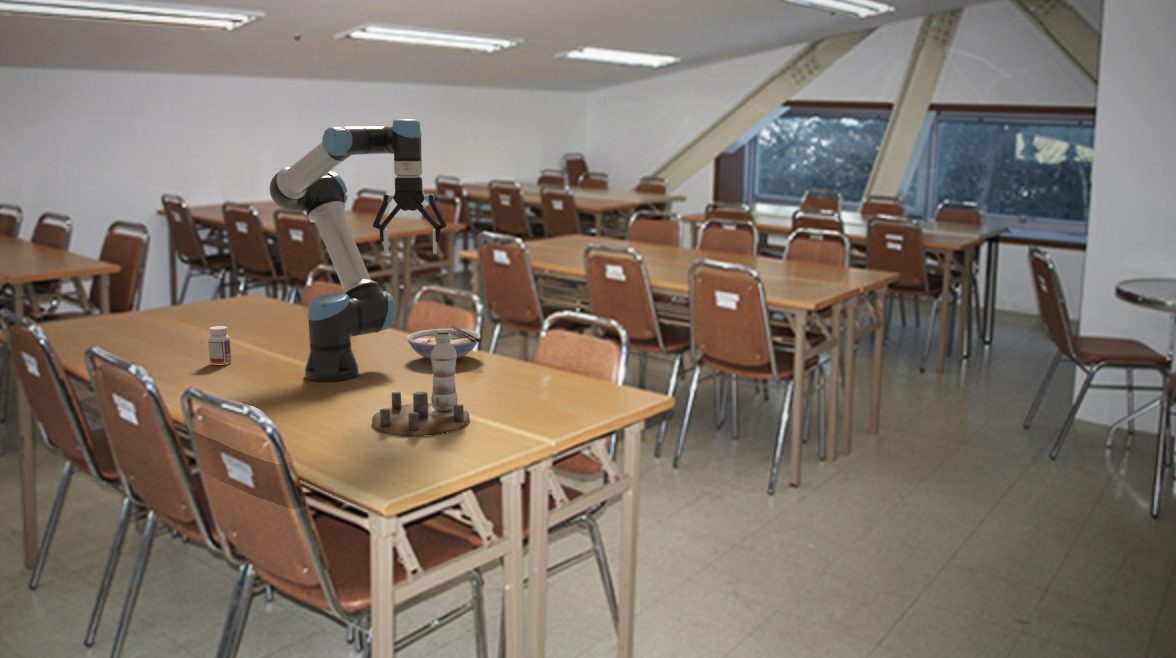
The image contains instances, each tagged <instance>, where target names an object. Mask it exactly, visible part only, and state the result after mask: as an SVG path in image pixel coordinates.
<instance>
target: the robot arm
mask: <svg viewBox="0 0 1176 658" xmlns="http://www.w3.org/2000/svg"><path fill="white" fill-rule="evenodd" d="M421 130H422V129H421V122H420V121H419V120H418V119H414V118H413V119H407V118H406V119H404V118H403V119H402V118H400V119H394V120H393V121H392V126H389V125H387V126H386V125H370V126H366V125H365V126H364V125H363V126H342V125H341V126H340V125H338V126H331V127H329V128H326V129H325V130H324V132H323V133H324V134H322V139H321V141H322V142H320V143H319V144H318V145H317V146H315V147H314V148H313V149H312V150H311V151H308V153H306V154H305V155H304V156H303V157H301V158H299V160H298V161H296V162H295V163H293V165H291V166H290V167H284V168H281V170H279V171H278V172H277V173H276V174H275V175H274V176H273V177H272V178H271V180H270V183H269V195H270V197H271V199H272V201H273V202H274V203H275V205H276V206H278V207H279V208H281V209H283V210H285V211H288V212H305V213H306V215H307V218H308V219H309V220H310V221H311V222H313V223H315V224H316V227H317V229H318V231H319V233H320V236H321V238H322V241H323V243H324V245H325V247H326V248H325V249H326V251H327V253H328V255H329V258H330V259H331V262H332V265H333V268H334V270H335V272H336V274H337V276H338V280H339V281H340V285H341V288H342V289H343V292H334V293H333V292H332V293H325V294H321V295H318V296H316V297H314V298H312V299H310V301H309V302H308V304H307V305H308V306H307V319H308V322H307V323H308V333H309V335H308V336H309V354H308V357H307V361H306V364H305V368H304V374H305V375H304V377H305V379H307V380H309V381H314V382H339V381H346V380H350V379H353V378H355V377H357V376H358V375H359V373H360V372H359V365H358V363H357V360H356V357H355V354H354V351H353V350H352V337H358V336H362V335H368V334H373V333H375V334H376V333H379V332H382V331H386V330H388V329H389V328H390V327H391V326H392V325H393V323H394V321H395V319H396V318H395V317H396V314H397V313H396V311H397V309H396V303H395V299H394V297H393V295H392V294H391V293H390V292H388V291H385V290H384V291H383V290H381V288H380V285H379V283H378V282H376V281H374V280H372V279H371V277H370V274H369V272H368V269H367V267H366V264H365V262H364V260H363V258H362V256H361V253H360V251H359V248H358V246H357V243H356V241H355V238H354V236H353V233H352V232H351V228H350V227H349V224H348V222H347V220H346V217H345V215H344V211H345V209H346V204H347V200H348V194H347V193H348V188H347V185H346V183H345V181H344V180H343V177H341V176H340V175H339V174H338V173H337V172H334V171H333V170H334V169H335V168H336V167H337V166H339V165H340V164H342V163H343V162H344V161H345V160H347V159H349V158H350V157H351V156H353V155H354V156H355V155H357V156H358V155H377V154H378V155H379V154H382V155H383V154H390V155H391V154H392V155H393V170H394V171H393V173H394V175H395V176H396V177H395V178H394V194H389V193H385V194H384V195H383V196H382V204H381V206H380V208H379V210H378V212H377V214H376V217H375V219H374V221H373V223H372V227H373V228H374V229H375V228H376V229H378V231H379V241H380V242H383V253H384V254H385V255H387V254H389V252H390V250H389V229H387V226H388V225H389V224H390V223H391V221H392V220H393V219H394V218H395V216H396V215H398V213H399V212H400V210H402V211H405V212H407V211H413V212H415V211H418V212H419V213H421V215H422V216H423V217H424V218H425V219H426V220H427V221H428V223H429V224H430V225H431V226H432V227H433V229H432V254H433V255H436V254H437V253H438V243H439V242H441V236H442V235H441V230H442V229H445V228H446V227H448V226H447V225H448V223H447V221H446V219H445V218H444V216H443V214H442V212H441V210H440V208H439V207H438V204H437V203H436V198H435V195H434V193H431V194H426V195H425V194H424V191H423V178H422V177H421V176H422V175H423V165H422V163H423V160H422V156H423V155H422V132H421ZM392 200H393V201H394V203H396V206H395V207H394V208H393V209H392V211H390V213H389V214H388V216H387V217H386V218H385V219H384V221H382V220H383V216H384V214H385V212H386V210H387V208H388V206H389V203H391V202H392ZM424 201H426V203H429V205H430V208H431V209H432V212H433V213H434V215H435V217H436V218H437V220H438V222H439V223H438V222H437V220H436V219H435V218H434V217H433V216H432V214H430V212H429V211H428V210H427V209H426V207H425V206H424V205H423V203H424ZM381 221H382V223H381Z"/></svg>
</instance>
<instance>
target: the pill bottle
mask: <svg viewBox="0 0 1176 658" xmlns="http://www.w3.org/2000/svg"><path fill="white" fill-rule="evenodd" d="M208 329H209V330H208V331H209V333H208V334H209V335H210V336H209V337H208V339H207V341H208V352H209V353H208V354H209V363H212V364H226V363H230V362H231V363H232V353H231V352H232V351H231V348H232V347H231V337H230V335H228V327H227V326H224V325H216V326H215V325H214V326H210V327H209V328H208ZM231 363H230V364H231Z"/></svg>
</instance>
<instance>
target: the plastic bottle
mask: <svg viewBox="0 0 1176 658" xmlns="http://www.w3.org/2000/svg"><path fill="white" fill-rule="evenodd" d="M435 341H436V344H435V346H434V347H433V349H432V351H431V354H430V355H431V359H430V362H431V369H432V375H433V376H432V380H433V381H432V393H431V399H430V403H432V407H433V408H434V410H437V411H450V410H453V409H454V405H456V404H458V401H459V400H458V394H457V389H456V375H455V374H456V366H457V365H456V364H457V359H456V357H457V353H456V350H455V349H454V347H453V346H452V345H451V343H450V341H451V338H450V333H448V332H439V333H436V334H435Z"/></svg>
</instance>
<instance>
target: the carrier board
mask: <svg viewBox="0 0 1176 658" xmlns="http://www.w3.org/2000/svg"><path fill="white" fill-rule="evenodd" d="M428 395H429V394H428V392H427V391H415V392H413V393H412V402H413V403H407V404H402V392H401V391H393V392H391V407H388V408H381V409H379V411H377V412H376V413H375V414H373V416H372V417H371V423H372V424H371V425H372V427H373V429H374V430H375V431H378V432H380V433H383V434H387V435H392V436H397V435H399V437H428V436H427V435H432V436H437V435H436V434H439V435H443V434H442V433H444V434H448V433H447V432H449V433H452V432H455V430H456V431H458V430H461V429H462V427H463V428H465V425H466V426H467V425H468V424H469V423H468V422H470V412H468V410H466V408H465V407H464V404H461V403H457V404H456V405H454V409H453V410H450V411H437V410H434V408H433V407H432V403H431V402H429V398H428V397H429V396H428ZM467 423H468V424H467ZM460 428H461V429H460ZM457 429H458V430H457ZM451 431H452V432H451ZM424 435H426V436H424Z"/></svg>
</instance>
